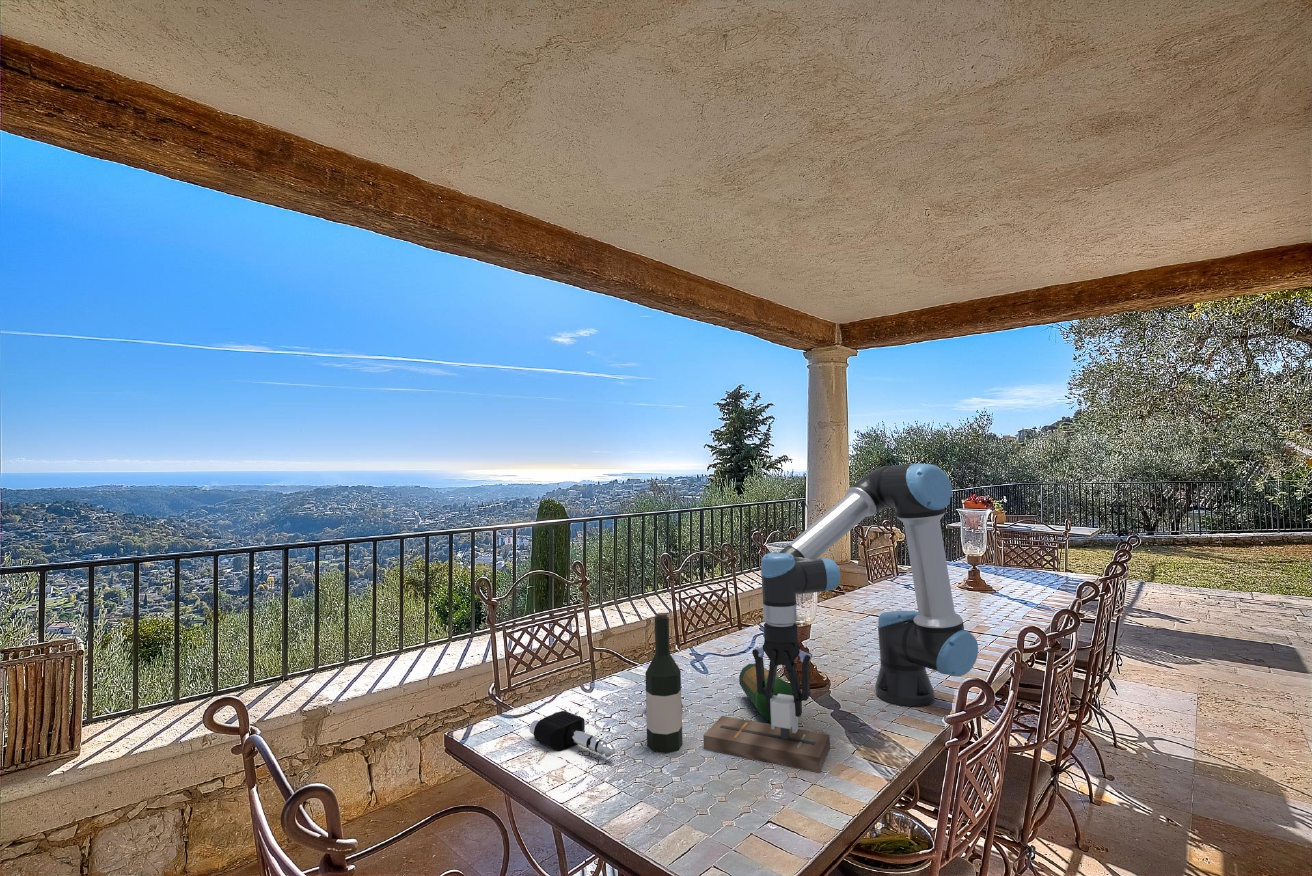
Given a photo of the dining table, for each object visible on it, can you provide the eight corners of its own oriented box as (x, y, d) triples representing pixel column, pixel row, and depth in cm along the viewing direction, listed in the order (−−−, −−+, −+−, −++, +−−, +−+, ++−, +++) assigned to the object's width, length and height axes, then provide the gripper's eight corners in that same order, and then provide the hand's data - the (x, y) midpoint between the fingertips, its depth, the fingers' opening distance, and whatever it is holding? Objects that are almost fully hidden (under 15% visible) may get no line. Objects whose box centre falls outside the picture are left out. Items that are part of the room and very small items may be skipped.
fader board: (830, 748, 128) (829, 734, 129) (819, 772, 118) (818, 757, 118) (722, 728, 140) (722, 715, 140) (703, 748, 129) (703, 734, 130)
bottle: (773, 662, 163) (817, 696, 135) (766, 700, 161) (808, 742, 134) (739, 655, 161) (775, 688, 134) (731, 693, 160) (766, 734, 132)
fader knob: (797, 733, 129) (795, 696, 130) (790, 744, 124) (789, 705, 124) (780, 730, 131) (778, 693, 131) (772, 741, 125) (771, 702, 126)
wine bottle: (645, 738, 136) (643, 610, 138) (680, 736, 136) (676, 609, 139) (648, 754, 127) (645, 618, 130) (685, 752, 128) (681, 617, 131)
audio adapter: (562, 704, 144) (631, 731, 128) (562, 726, 144) (632, 755, 127) (526, 718, 136) (595, 748, 120) (526, 741, 136) (596, 775, 119)
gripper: (821, 622, 129) (826, 728, 127) (749, 616, 136) (753, 716, 134) (814, 629, 122) (820, 742, 120) (739, 623, 130) (743, 728, 128)
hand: (784, 728), depth 127 cm, fingers closed on fader knob, 4 cm apart
